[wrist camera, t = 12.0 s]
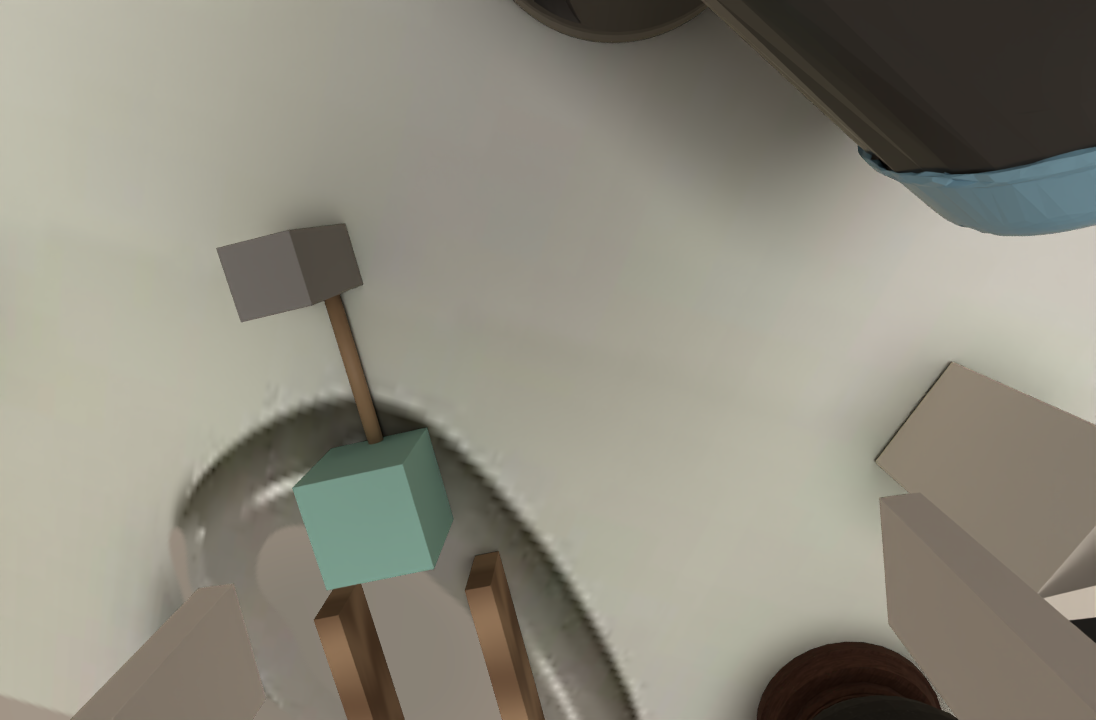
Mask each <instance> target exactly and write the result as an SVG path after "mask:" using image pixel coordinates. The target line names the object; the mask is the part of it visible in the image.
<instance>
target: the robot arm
mask: <svg viewBox="0 0 1096 720" xmlns="http://www.w3.org/2000/svg"><path fill="white" fill-rule="evenodd" d="M514 2H515V3H516V4H518V5H519V6H520V7H521V8H522V9H523V10H524V11H526V12H527V13H528V14H529V15H531V16H532V17H533V18H535V19H537V20H538V21H540V22H541V23H543V24H545V25H546V26H548V27H550V28H552V29H554V30H556V31H558V32H561V33H563V34H566V35H569V36H572V37H575V38H579V39H583V40H588V41H593V42H603V43H622V42H632V41H638V40H643V39H647V38H651V37H654V36H657V35H660V34H663V33H665V32H668V31H670V30H672V29H675V28H677V27H679V26H681V25H682V24H684V23H686V22H688V21H689V20H691V19H692V18H694V17H695V16H697V15H698V14H700V13H701V12H702V11H703V10H705V9H706V8H707V7H709V8H710V9H711V10H712V11H713V12H714V13H715V14H716V15H718V16H719V17H720V18H721V19H722V20H723V21H724V22H725V23H726V24H727V25H728V26H729V27H731V28H732V29H733V30H734V31H735V32H736V33H737V34H738V35H739V36H740V37H741V38H742V39H744V40H745V41H746V42H747V43H748V44H749V45H750V46H751V47H752V48H753V49H754V50H755V51H757V52H758V53H759V54H760V55H761V56H762V57H763V58H764V59H765V60H766V61H767V62H768V63H770V64H771V65H772V66H773V67H774V68H775V69H776V70H777V71H778V72H779V73H780V74H782V75H783V76H784V77H785V78H786V79H787V80H788V81H789V82H790V83H791V84H792V85H793V86H795V87H796V88H797V89H798V90H799V91H800V92H801V93H802V94H803V95H804V96H805V97H806V98H808V99H809V100H810V101H811V102H812V103H813V104H814V105H815V106H816V107H817V108H818V109H819V110H821V111H822V112H823V113H824V114H825V115H826V116H827V117H828V118H829V119H830V120H831V121H832V122H834V123H835V124H836V125H837V126H838V127H839V128H840V129H841V130H842V131H843V132H844V133H845V134H847V135H848V136H849V137H850V138H851V139H852V140H853V141H854V142H855V143H856V144H857V145H858V152H859V154H860V155H861V157H862V158H863V159H864V160H865V161H866V162H867V163H868V164H869V165H870V166H871V167H872V168H873V169H874V170H876V171H877V172H879V173H881V174H883V175H885V176H888V177H890V178H892V179H894V180H897V181H899V182H900V183H901V184H903V185H904V186H905V187H906V188H907V189H909V190H910V191H911V192H912V193H913V194H915V195H916V196H917V197H918V198H919V199H921V200H922V201H923V202H924V203H925V204H927V205H928V206H929V207H930V208H931V209H933V210H934V211H935V212H936V213H938V214H939V215H940V216H942V217H943V218H945V219H946V220H948V221H950V222H952V223H954V224H956V225H958V226H962V227H968V228H971V229H975V230H977V231H980V232H982V233H991V234H994V235H999V236H1035V235H1046V234H1053V233H1059V232H1065V231H1071V230H1076V229H1080V228H1085V227H1089V226H1094V225H1096V0H514ZM879 500H880V514H881V528H882V542H883V556H884V569H885V583H886V597H887V611H888V624H889V625H890V627H891V628H892V630H893V631H894V632H895V634H896V635H897V636H898V638H899V639H900V641H901V642H902V643H903V645H904V646H905V647H906V649H907V650H908V652H909V653H910V654H911V656H912V657H913V658H914V660H915V661H916V662H917V664H918V665H919V667H920V668H921V669H922V671H923V672H924V673H925V675H926V676H927V678H928V679H929V680H930V682H931V683H932V684H933V686H934V687H935V689H936V690H937V691H938V693H939V694H940V695H941V697H942V698H943V700H944V701H945V702H946V704H947V705H948V706H949V708H950V709H951V711H952V712H953V713H954V715H955V716H956V717H957V719H958V720H1096V617H1093V618H1085V619H1076V620H1068V619H1067V618H1066V617H1064V616H1063V615H1062V614H1061V613H1060V612H1059V611H1057V610H1056V609H1055V608H1054V607H1053V606H1052V605H1050V604H1049V603H1048V602H1047V601H1046V600H1045V599H1043V598H1042V597H1041V596H1040V595H1039V594H1038V593H1036V592H1035V591H1034V590H1033V589H1032V588H1031V587H1029V586H1028V585H1027V584H1026V583H1025V582H1024V581H1023V580H1021V579H1020V578H1019V577H1018V576H1017V575H1016V574H1014V573H1013V572H1012V571H1011V570H1010V569H1009V568H1007V567H1006V566H1005V565H1004V564H1003V563H1002V562H1000V561H999V560H998V559H997V558H996V557H995V556H993V555H992V554H991V553H990V552H989V551H988V550H986V549H985V548H984V547H983V546H982V545H981V544H979V543H978V542H977V541H976V540H975V539H974V538H972V537H971V536H970V535H969V534H968V533H967V532H966V531H964V530H963V529H962V528H961V527H960V526H959V525H957V524H956V523H955V522H954V521H953V520H952V519H950V518H949V517H948V516H947V515H946V514H945V513H943V512H942V511H941V510H940V509H939V508H938V507H936V506H935V505H934V504H933V503H932V502H931V501H929V500H928V499H927V498H926V497H925V496H924V495H922V494H921V493H920V492H918V493H910V494H903V495H895V496H888V497H880V498H879ZM265 700H266V696H265V693H264V689H263V686H262V682H261V679H260V675H259V671H258V668H257V664H256V661H255V657H254V654H253V650H252V647H251V643H250V640H249V636H248V633H247V629H246V626H245V622H244V618H243V615H242V611H241V608H240V604H239V601H238V597H237V594H236V590H235V587H234V584H227V585H219V586H212V587H204V588H198V589H197V590H196V591H195V592H194V593H193V594H192V595H191V597H190V598H189V599H188V600H187V601H186V602H185V603H184V604H183V605H182V606H181V607H180V608H179V609H178V610H177V611H176V612H175V613H174V614H173V615H172V616H171V617H170V618H169V619H168V620H167V621H166V622H165V623H164V624H163V625H162V626H161V627H160V628H159V629H158V630H157V631H156V632H155V633H154V634H153V635H152V636H151V637H150V638H149V640H148V641H147V642H146V643H145V644H144V645H143V646H142V647H141V648H140V649H139V650H138V651H137V652H136V653H135V654H134V655H133V656H132V657H131V658H130V659H129V660H128V661H127V662H126V663H125V664H124V665H123V666H122V667H121V668H120V669H119V670H118V671H117V672H116V673H115V674H114V675H113V676H112V677H111V678H110V679H109V680H108V681H107V683H106V684H105V685H104V686H103V687H102V688H101V689H100V690H99V691H98V692H97V693H96V694H95V695H94V696H93V697H92V698H91V699H90V700H89V701H88V702H87V703H86V704H85V705H84V706H83V707H82V708H81V709H80V710H79V711H78V712H77V713H76V714H75V715H74V716H73V717H72V718H71V719H70V720H253V719H254V717H255V716H256V714H257V712H258V711H259V709H260V708H261V706H262V704H263V703H264V701H265Z"/></svg>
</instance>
